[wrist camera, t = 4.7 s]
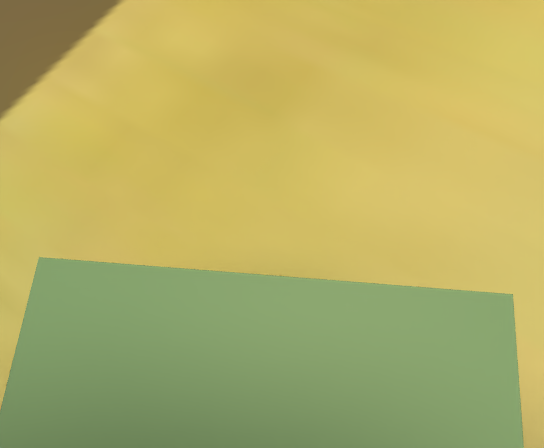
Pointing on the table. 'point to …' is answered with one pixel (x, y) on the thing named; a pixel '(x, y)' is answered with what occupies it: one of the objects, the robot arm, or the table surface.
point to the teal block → (257, 362)
